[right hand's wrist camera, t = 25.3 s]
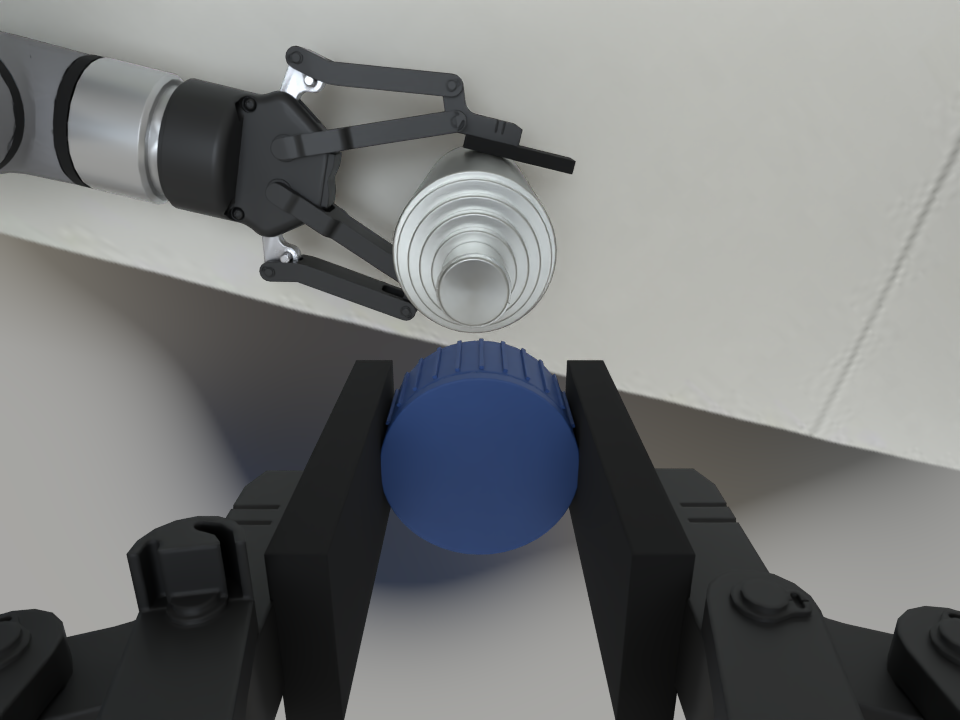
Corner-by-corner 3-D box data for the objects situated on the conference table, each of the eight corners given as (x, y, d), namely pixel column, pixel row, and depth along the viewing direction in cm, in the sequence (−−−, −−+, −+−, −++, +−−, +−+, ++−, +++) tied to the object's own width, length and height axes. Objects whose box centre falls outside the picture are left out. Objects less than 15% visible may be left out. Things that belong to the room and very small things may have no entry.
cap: (447, 525, 15) (442, 586, 13) (355, 389, 14) (335, 435, 12) (599, 452, 15) (618, 506, 13) (516, 304, 14) (523, 337, 12)
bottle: (407, 222, 48) (339, 336, 25) (451, 125, 46) (423, 149, 22) (498, 267, 49) (517, 416, 26) (546, 174, 47) (614, 246, 24)
